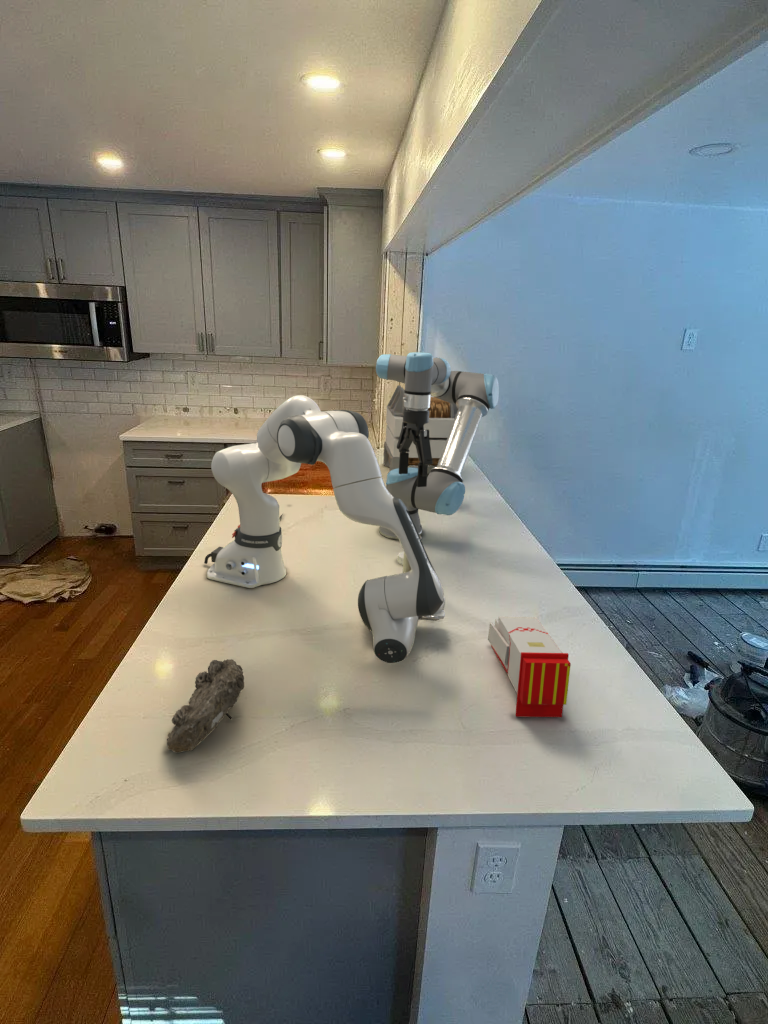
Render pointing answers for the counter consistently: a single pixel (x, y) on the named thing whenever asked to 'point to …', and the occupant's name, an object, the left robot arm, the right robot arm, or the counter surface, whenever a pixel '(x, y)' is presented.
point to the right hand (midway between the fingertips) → (412, 479)
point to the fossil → (206, 705)
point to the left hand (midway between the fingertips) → (407, 588)
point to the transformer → (437, 426)
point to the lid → (400, 558)
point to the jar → (406, 563)
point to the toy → (531, 665)
